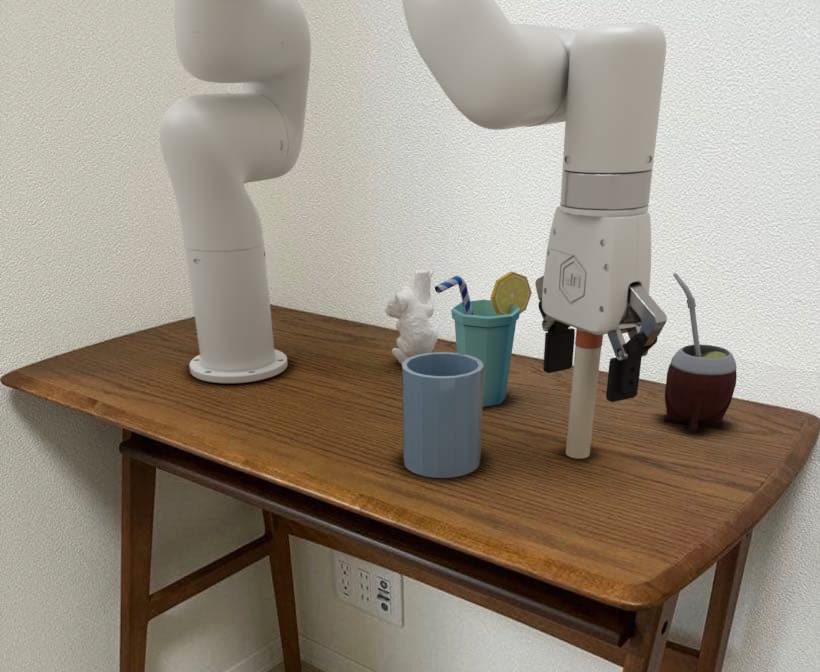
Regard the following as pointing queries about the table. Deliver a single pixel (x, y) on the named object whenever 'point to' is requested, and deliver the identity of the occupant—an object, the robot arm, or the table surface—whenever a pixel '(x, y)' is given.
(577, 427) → the beige cylinder rod
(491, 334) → the cup
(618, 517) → the table surface
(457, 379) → the tumbler
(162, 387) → the table surface
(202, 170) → the robot arm
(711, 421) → the mate gourd
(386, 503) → the table surface
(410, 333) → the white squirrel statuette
